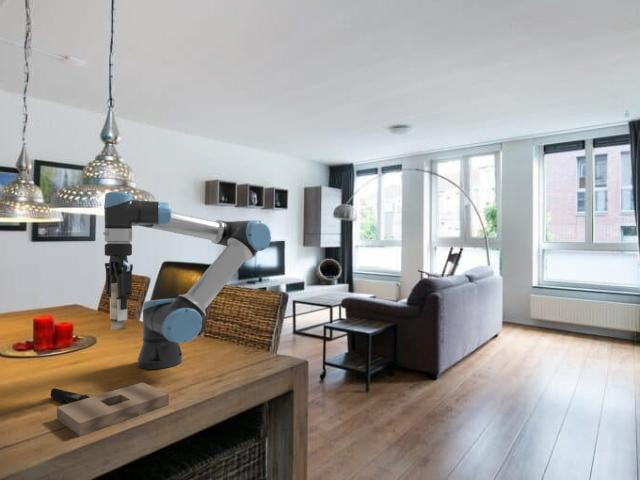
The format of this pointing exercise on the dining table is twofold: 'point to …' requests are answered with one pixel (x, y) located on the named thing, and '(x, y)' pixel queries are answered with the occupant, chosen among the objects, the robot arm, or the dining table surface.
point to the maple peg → (115, 310)
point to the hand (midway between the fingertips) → (118, 318)
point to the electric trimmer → (66, 396)
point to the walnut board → (111, 408)
